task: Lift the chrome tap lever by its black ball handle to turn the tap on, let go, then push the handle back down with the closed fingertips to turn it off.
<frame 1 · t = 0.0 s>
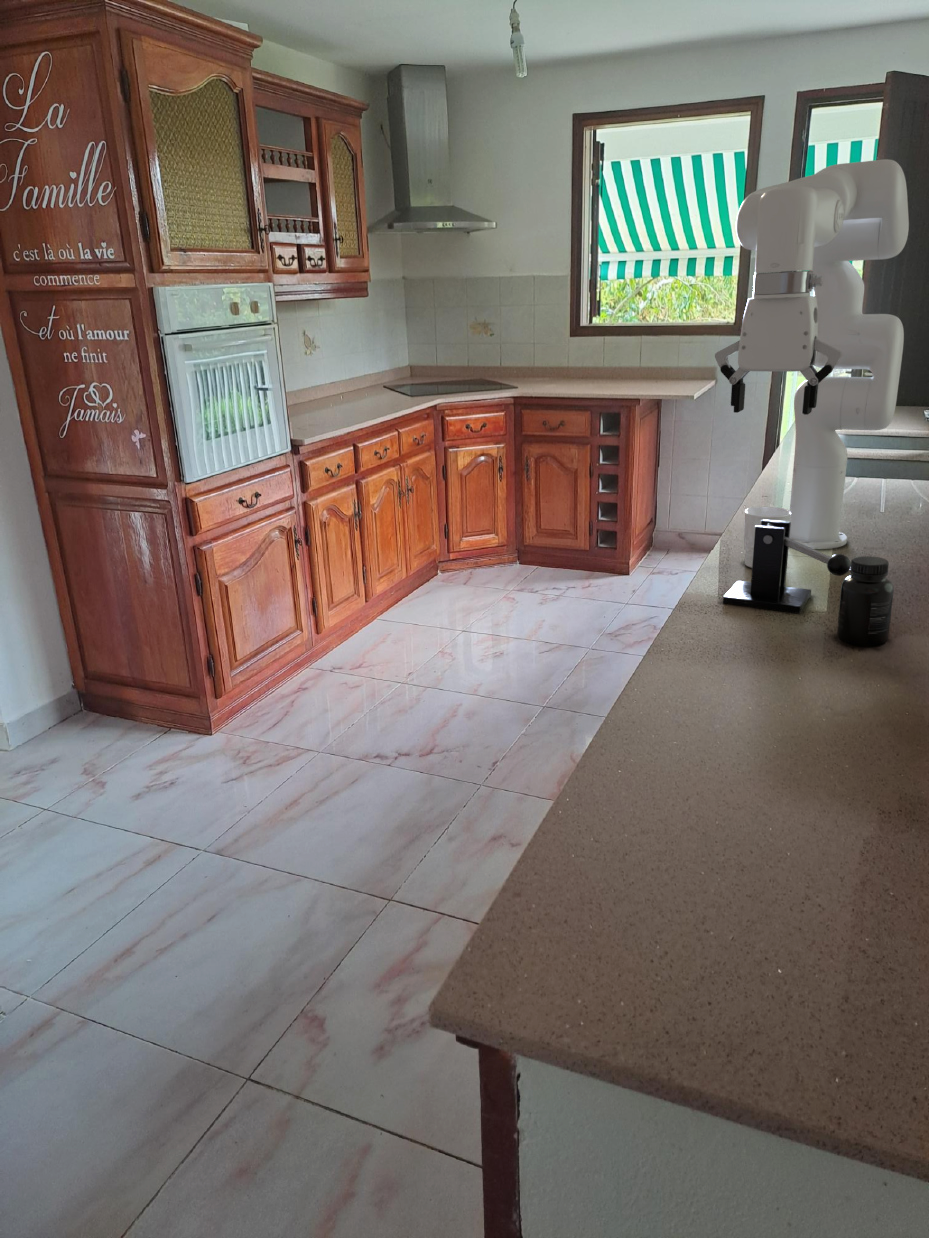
hand: (772, 412, 128), 31 cm above the counter, tool pointing down, fingers open, 9 cm apart
supplement bottle: (861, 641, 127), on the counter
black lever stand: (767, 599, 144), on the counter
tap lever: (806, 550, 138), point 9 cm above the counter, hinge at -20.0°
white cup: (763, 565, 162), on the counter
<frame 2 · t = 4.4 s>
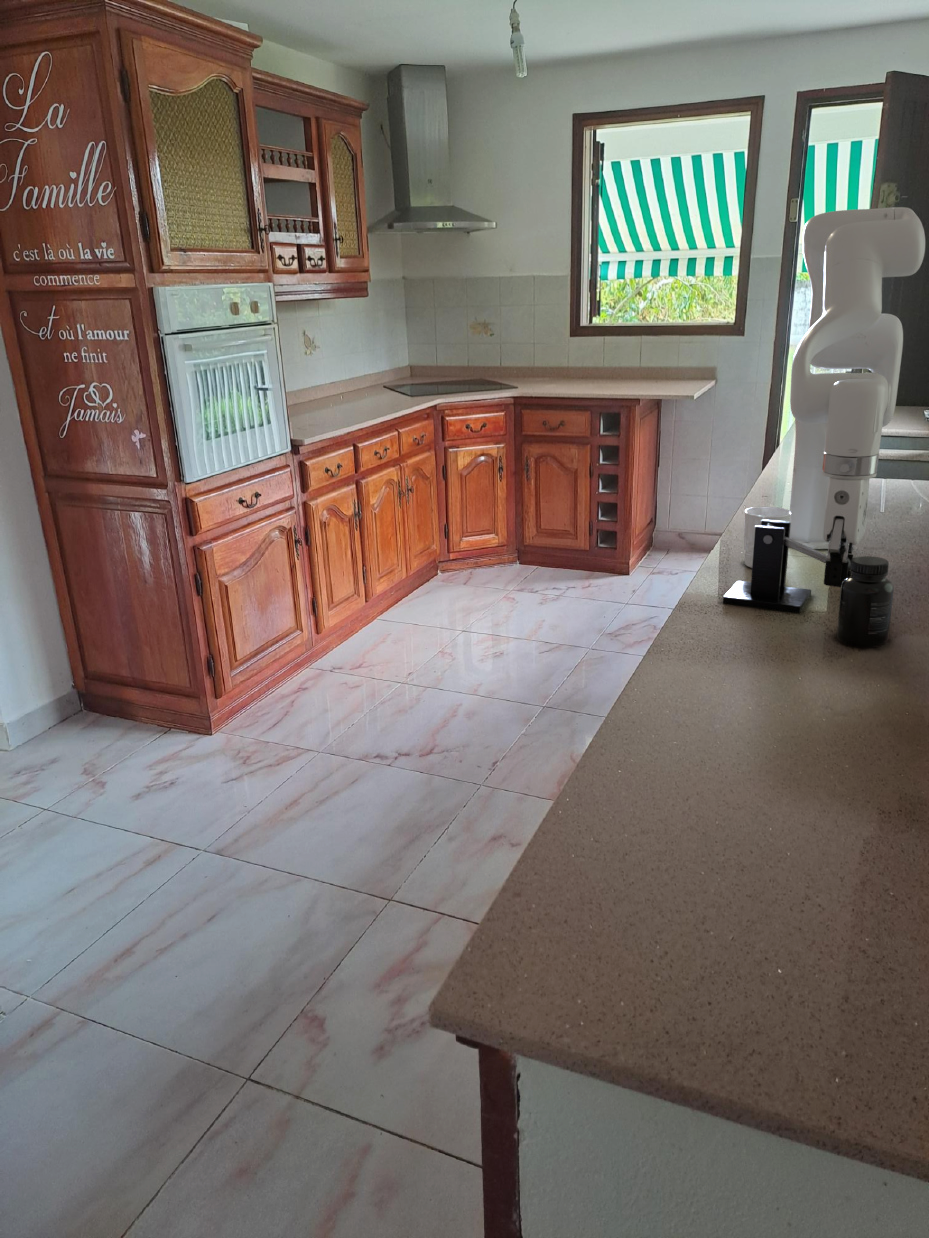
hand: (837, 580, 138), 5 cm above the counter, tool pointing down, fingers closed on tap lever, 3 cm apart
tap lever: (806, 550, 138), point 9 cm above the counter, hinge at -20.0°, touching gripper
everything else where it was.
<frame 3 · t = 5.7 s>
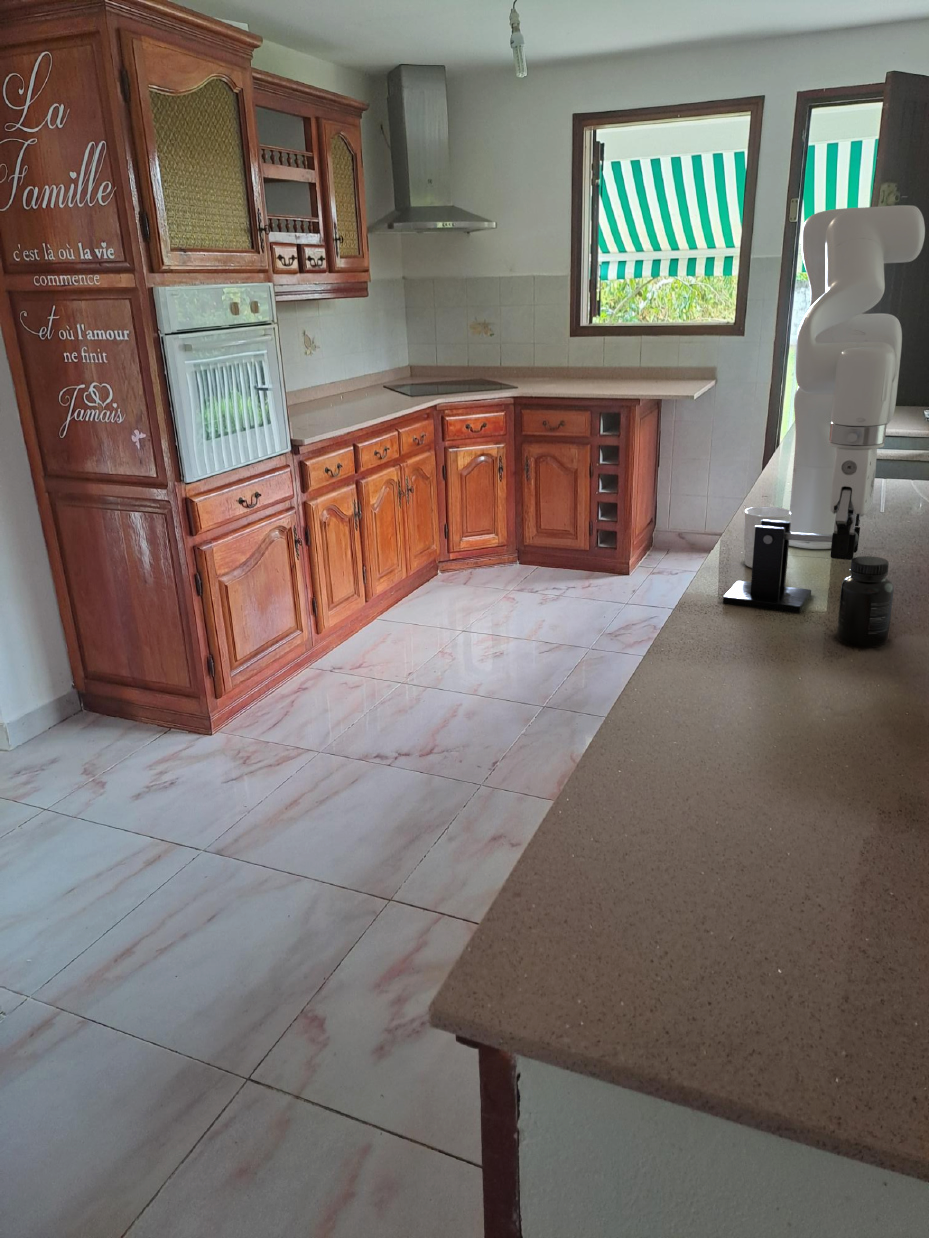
hand: (843, 553, 136), 9 cm above the counter, tool pointing down, fingers closed on tap lever, 3 cm apart
tap lever: (809, 537, 138), point 11 cm above the counter, hinge at 2.4°, touching gripper
everything else where it was.
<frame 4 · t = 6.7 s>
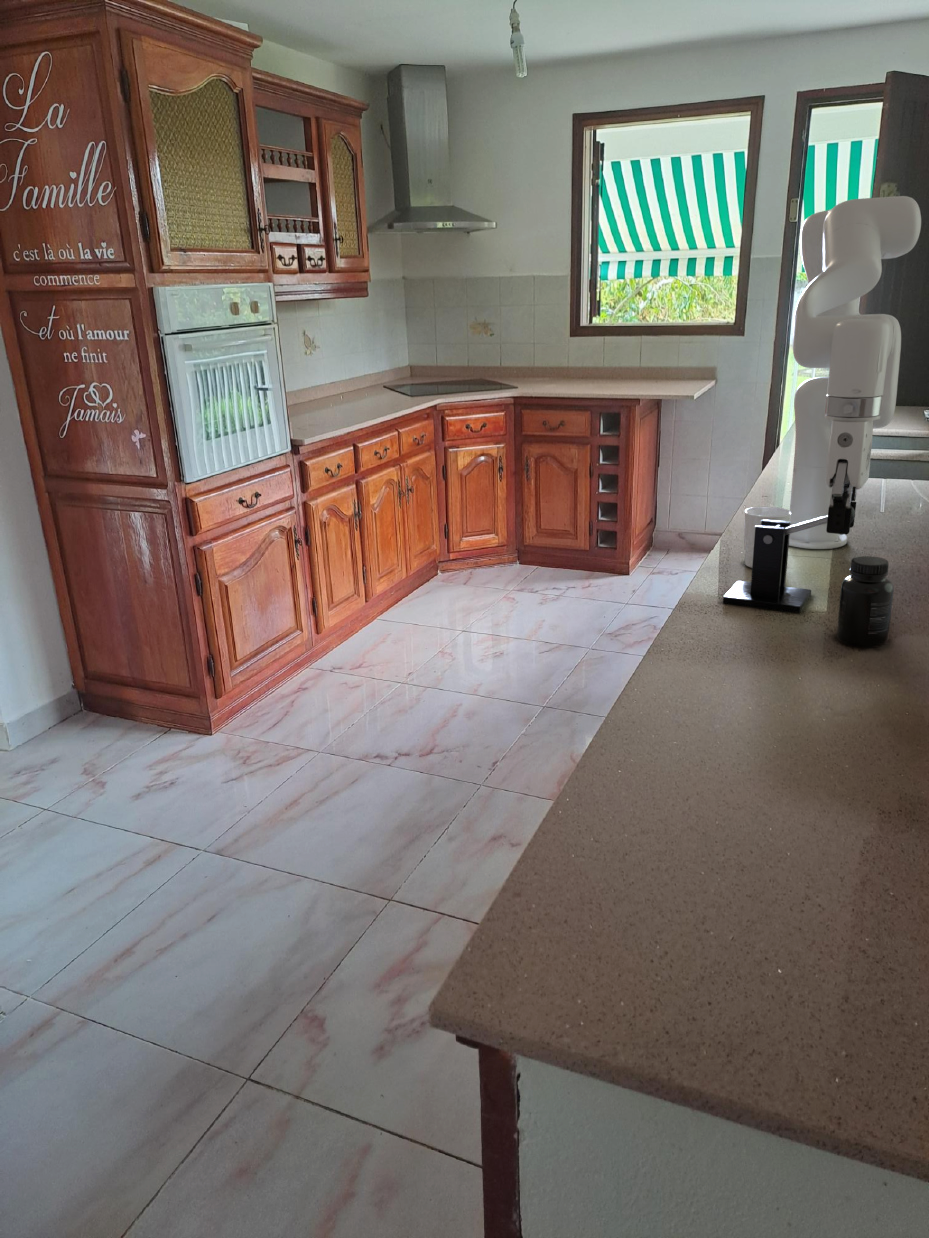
hand: (840, 528, 135), 13 cm above the counter, tool pointing down, fingers closed on tap lever, 3 cm apart
tap lever: (807, 524, 137), point 13 cm above the counter, hinge at 22.7°, touching gripper
everything else where it was.
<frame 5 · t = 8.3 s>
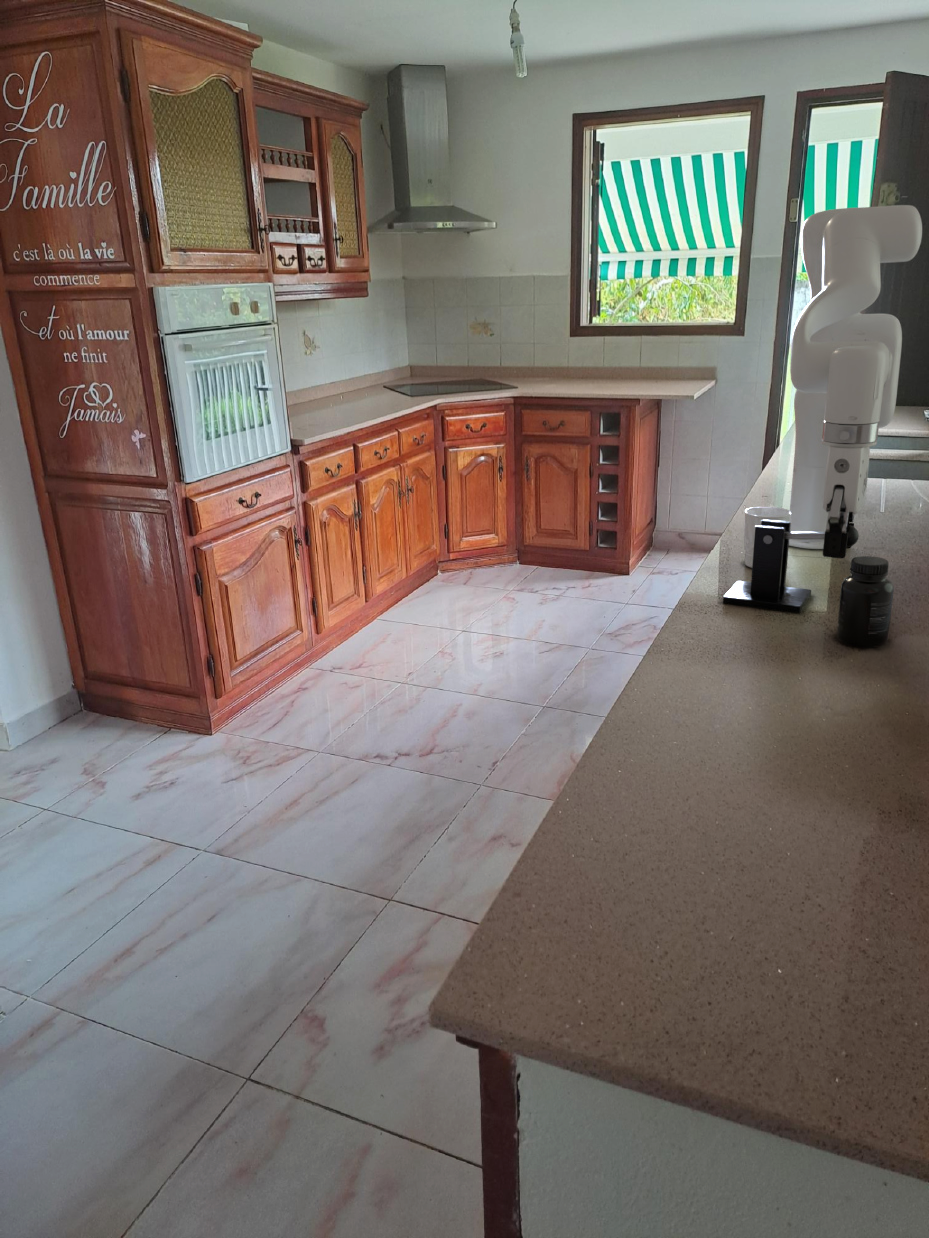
hand: (837, 550, 136), 9 cm above the counter, tool pointing down, fingers open, 5 cm apart
tap lever: (809, 535, 137), point 11 cm above the counter, hinge at 4.9°
everything else where it was.
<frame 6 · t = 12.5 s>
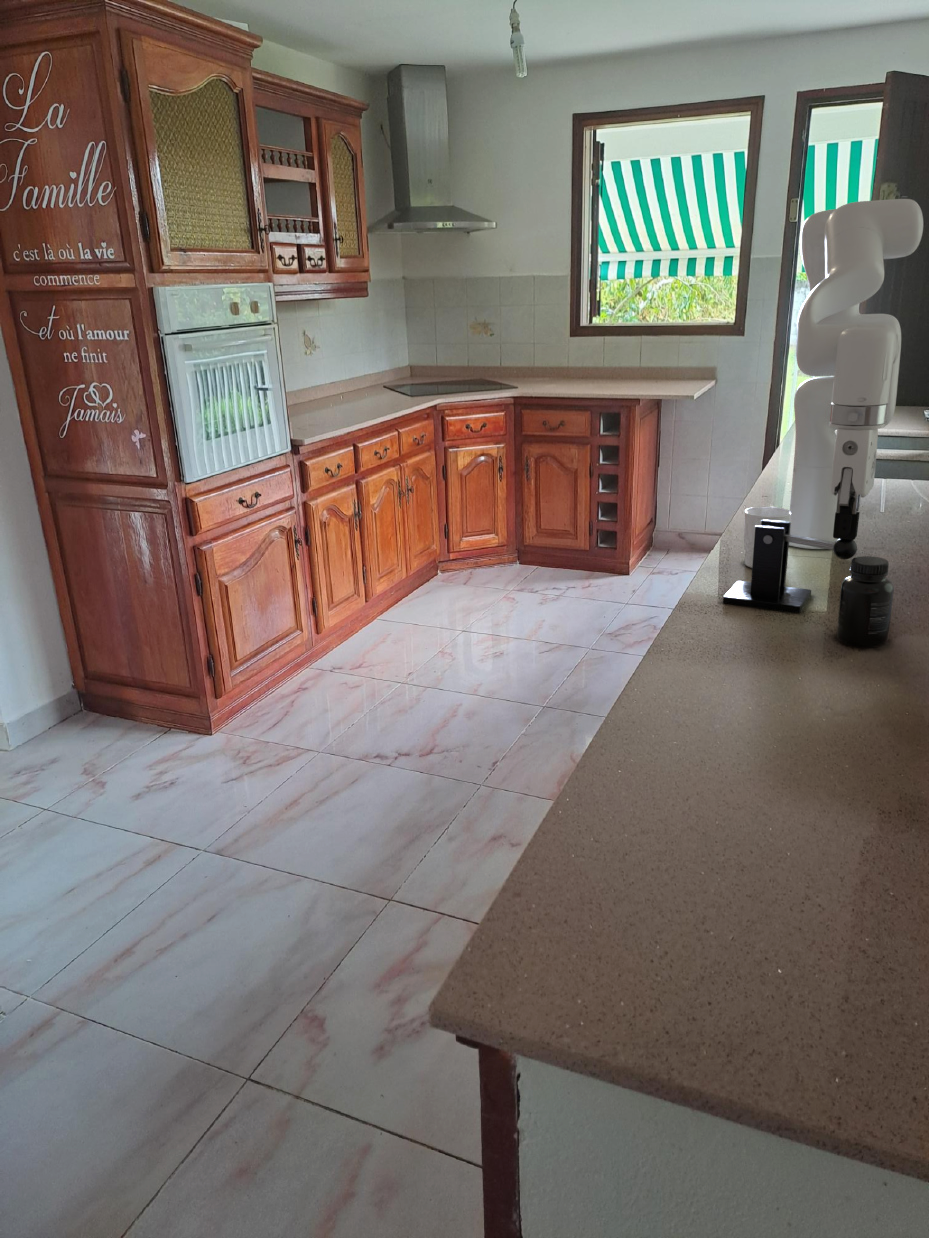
hand: (844, 537, 135), 12 cm above the counter, tool pointing down, fingers closed
tap lever: (809, 541, 138), point 10 cm above the counter, hinge at -5.3°, touching gripper
everything else where it was.
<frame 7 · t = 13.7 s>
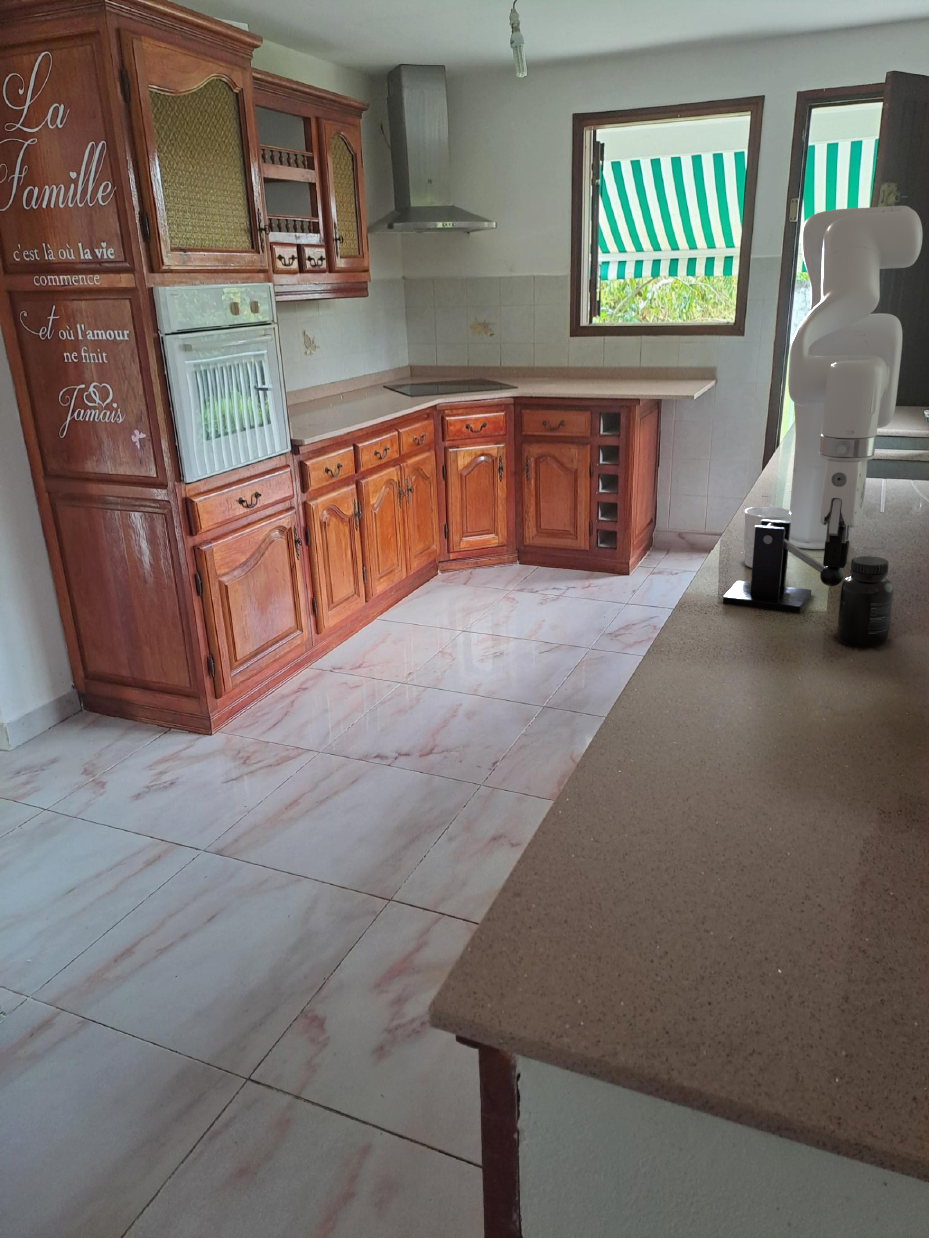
hand: (834, 565, 137), 7 cm above the counter, tool pointing down, fingers closed
tap lever: (802, 555, 139), point 8 cm above the counter, hinge at -30.6°, touching gripper
everything else where it was.
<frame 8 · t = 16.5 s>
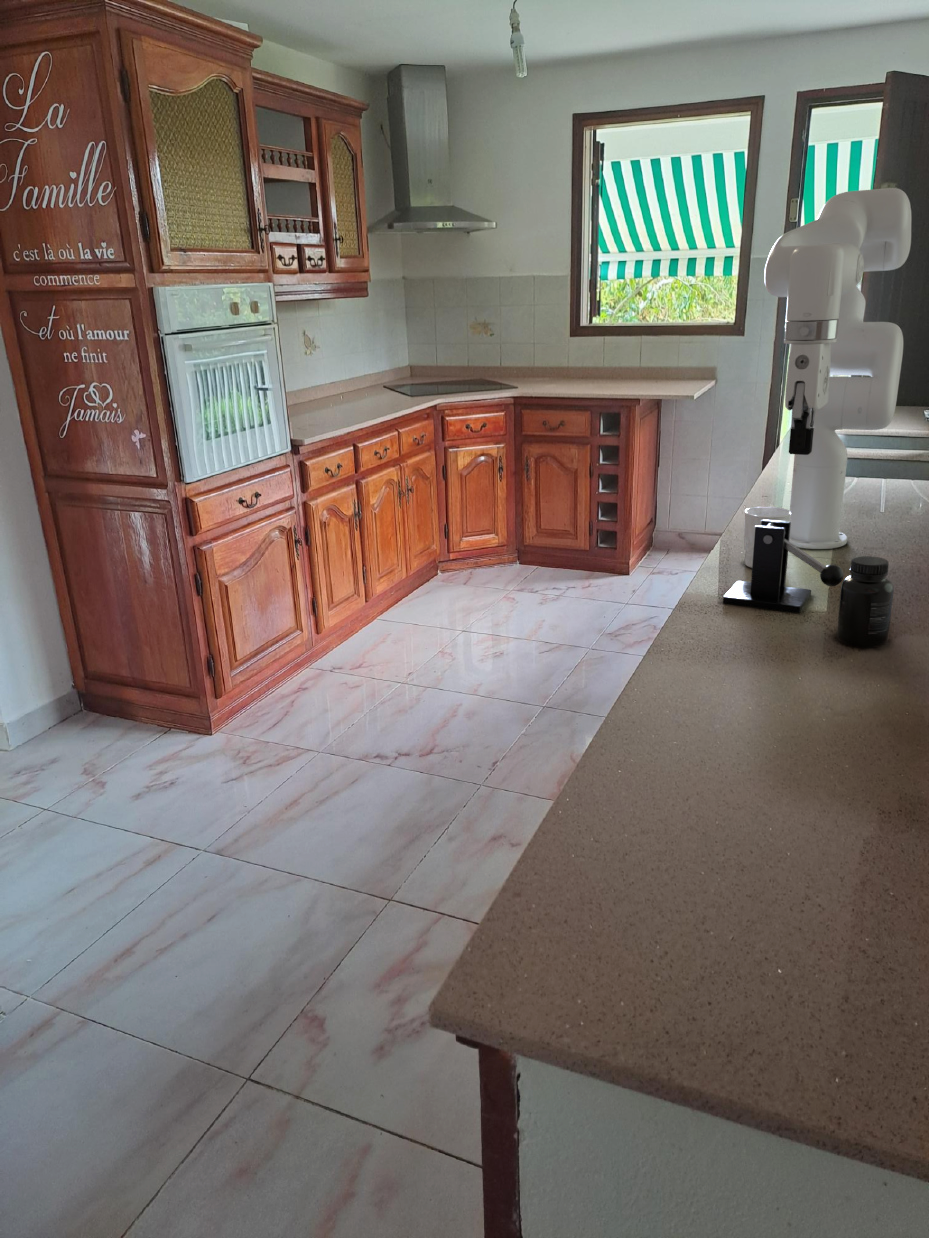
hand: (800, 453, 140), 23 cm above the counter, tool pointing down, fingers closed
tap lever: (802, 555, 139), point 8 cm above the counter, hinge at -30.5°
everything else where it was.
at the end: tap lever reached +23° during the clip, -30° at the end; tap lever at -30° (first picture: -20°) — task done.
